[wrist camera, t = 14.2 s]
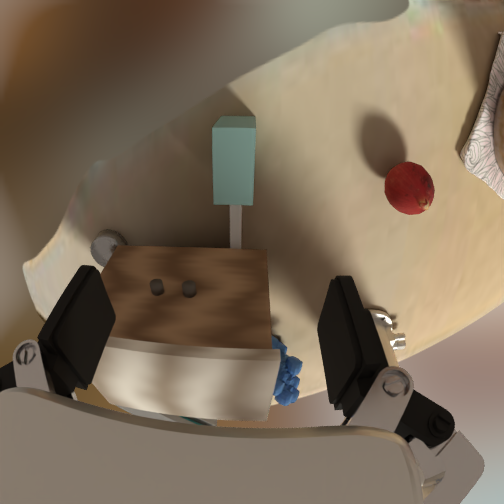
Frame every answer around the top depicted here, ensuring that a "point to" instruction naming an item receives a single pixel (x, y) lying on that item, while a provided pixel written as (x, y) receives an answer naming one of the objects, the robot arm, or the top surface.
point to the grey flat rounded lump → (106, 245)
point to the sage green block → (234, 168)
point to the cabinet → (189, 332)
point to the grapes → (286, 376)
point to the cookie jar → (489, 131)
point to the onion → (409, 188)
